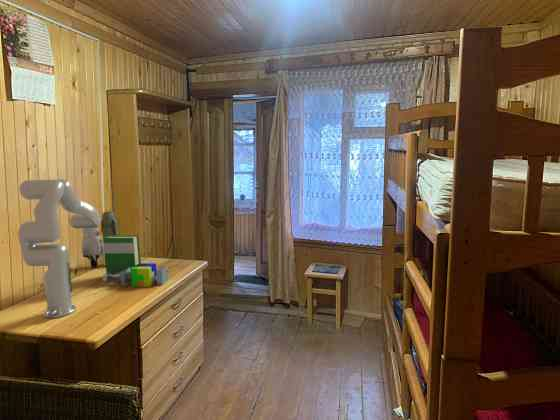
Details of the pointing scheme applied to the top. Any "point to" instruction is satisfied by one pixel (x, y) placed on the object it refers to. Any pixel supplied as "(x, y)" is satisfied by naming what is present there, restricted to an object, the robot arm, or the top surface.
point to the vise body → (161, 274)
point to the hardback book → (121, 252)
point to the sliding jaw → (120, 276)
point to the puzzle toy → (143, 274)
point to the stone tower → (109, 224)
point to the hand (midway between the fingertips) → (94, 266)
